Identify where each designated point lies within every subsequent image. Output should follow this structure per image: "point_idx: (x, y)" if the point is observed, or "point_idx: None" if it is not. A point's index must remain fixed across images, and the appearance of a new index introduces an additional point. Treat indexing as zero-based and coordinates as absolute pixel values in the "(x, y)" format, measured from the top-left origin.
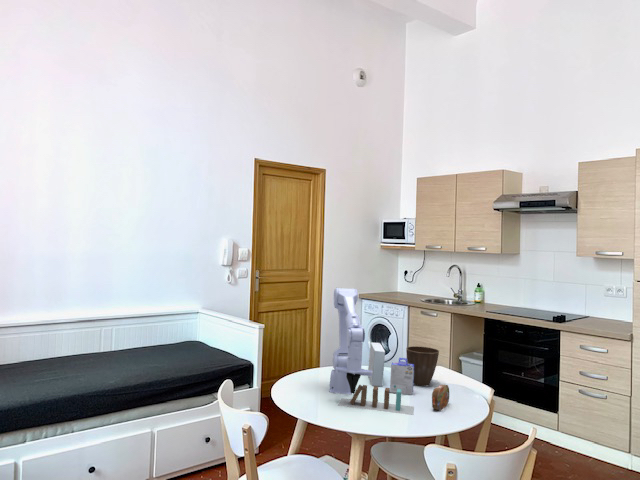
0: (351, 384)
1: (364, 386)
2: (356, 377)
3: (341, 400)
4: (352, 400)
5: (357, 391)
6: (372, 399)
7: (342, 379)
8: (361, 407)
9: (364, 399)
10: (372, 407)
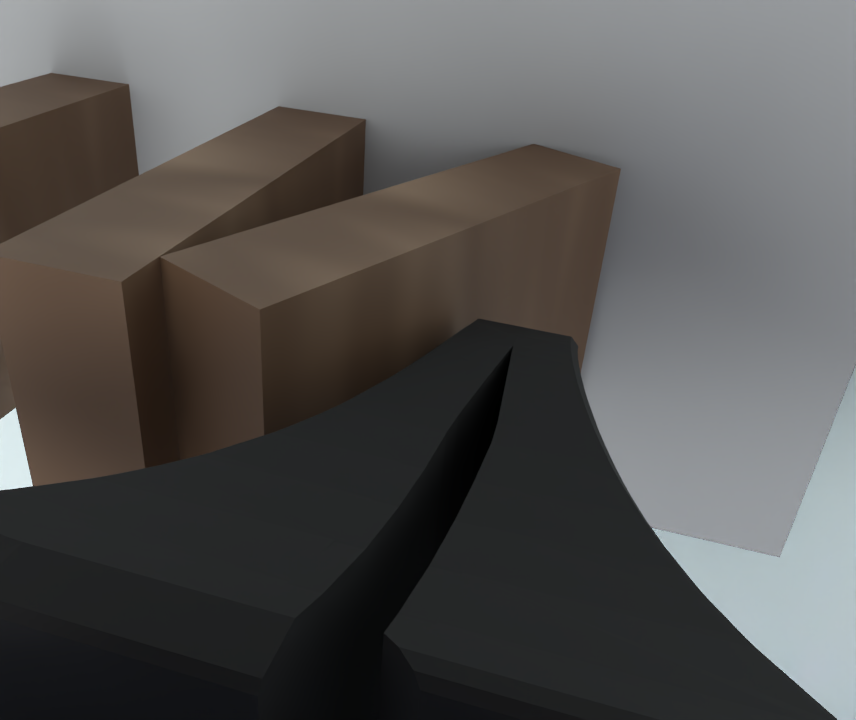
0: (515, 459)
1: (85, 462)
2: (23, 569)
3: (805, 409)
4: (540, 180)
5: (329, 249)
6: (11, 125)
7: None
8: (333, 11)
9: (211, 144)
10: (121, 82)
